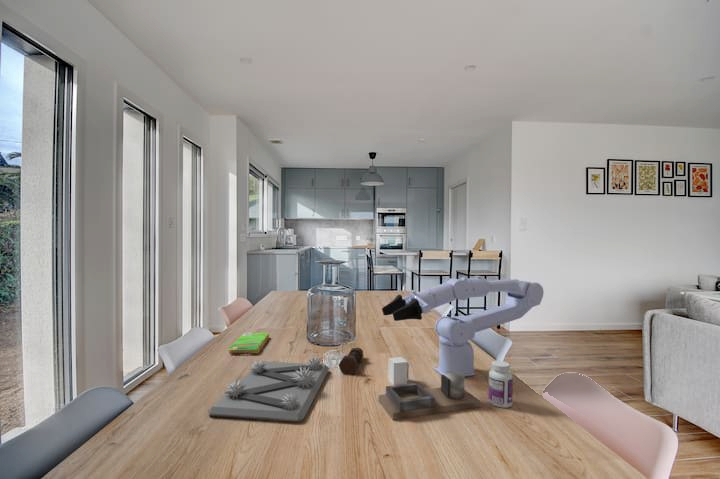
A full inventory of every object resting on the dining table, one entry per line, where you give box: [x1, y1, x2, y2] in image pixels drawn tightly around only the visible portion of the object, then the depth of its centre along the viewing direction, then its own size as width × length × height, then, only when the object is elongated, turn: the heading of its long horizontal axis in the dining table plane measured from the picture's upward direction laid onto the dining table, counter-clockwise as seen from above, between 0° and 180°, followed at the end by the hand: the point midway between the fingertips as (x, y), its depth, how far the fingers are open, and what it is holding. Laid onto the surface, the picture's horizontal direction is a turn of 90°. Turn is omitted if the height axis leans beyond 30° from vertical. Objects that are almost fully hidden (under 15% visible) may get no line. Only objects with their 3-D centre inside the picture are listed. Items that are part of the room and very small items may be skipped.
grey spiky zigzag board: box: [207, 355, 330, 423], centre depth 89 cm, size 30×22×7 cm
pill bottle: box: [488, 360, 514, 409], centre depth 84 cm, size 5×5×10 cm
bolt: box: [338, 347, 365, 376], centre depth 108 cm, size 6×5×15 cm
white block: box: [387, 356, 409, 386], centre depth 96 cm, size 4×4×6 cm
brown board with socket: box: [378, 370, 481, 421], centre depth 83 cm, size 22×9×6 cm, turn 107°
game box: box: [227, 332, 270, 354], centre depth 126 cm, size 3×10×20 cm
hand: (388, 314), depth 96 cm, fingers open, 7 cm apart
